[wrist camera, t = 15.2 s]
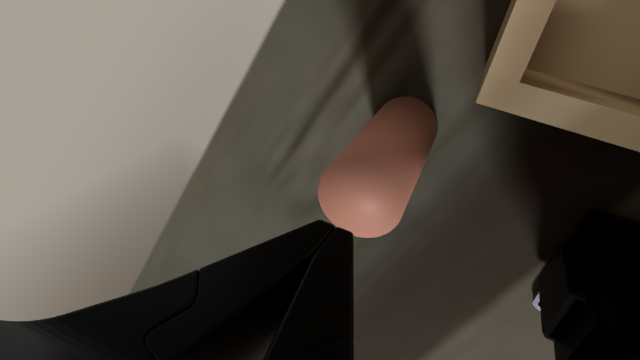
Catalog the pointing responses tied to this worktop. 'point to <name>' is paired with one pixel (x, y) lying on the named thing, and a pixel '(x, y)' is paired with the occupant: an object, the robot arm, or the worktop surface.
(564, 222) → the worktop surface
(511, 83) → the wooden box
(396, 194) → the key peg
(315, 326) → the robot arm
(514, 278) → the worktop surface
